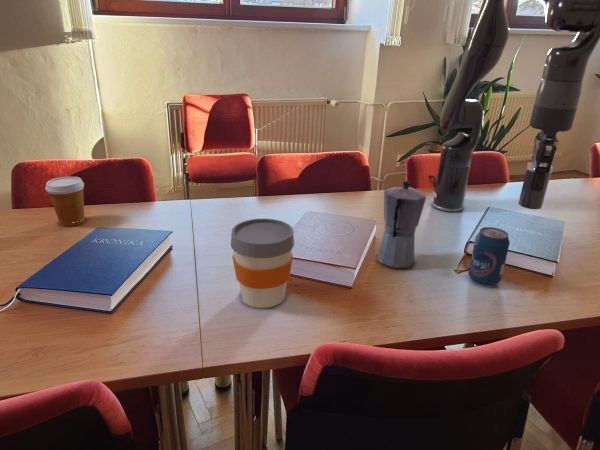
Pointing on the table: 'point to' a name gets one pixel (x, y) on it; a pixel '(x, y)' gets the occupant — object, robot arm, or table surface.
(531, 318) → the table surface
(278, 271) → the reusable coffee cup
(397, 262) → the moka pot
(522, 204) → the pepper shaker
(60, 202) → the disposable coffee cup
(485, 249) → the soda can
